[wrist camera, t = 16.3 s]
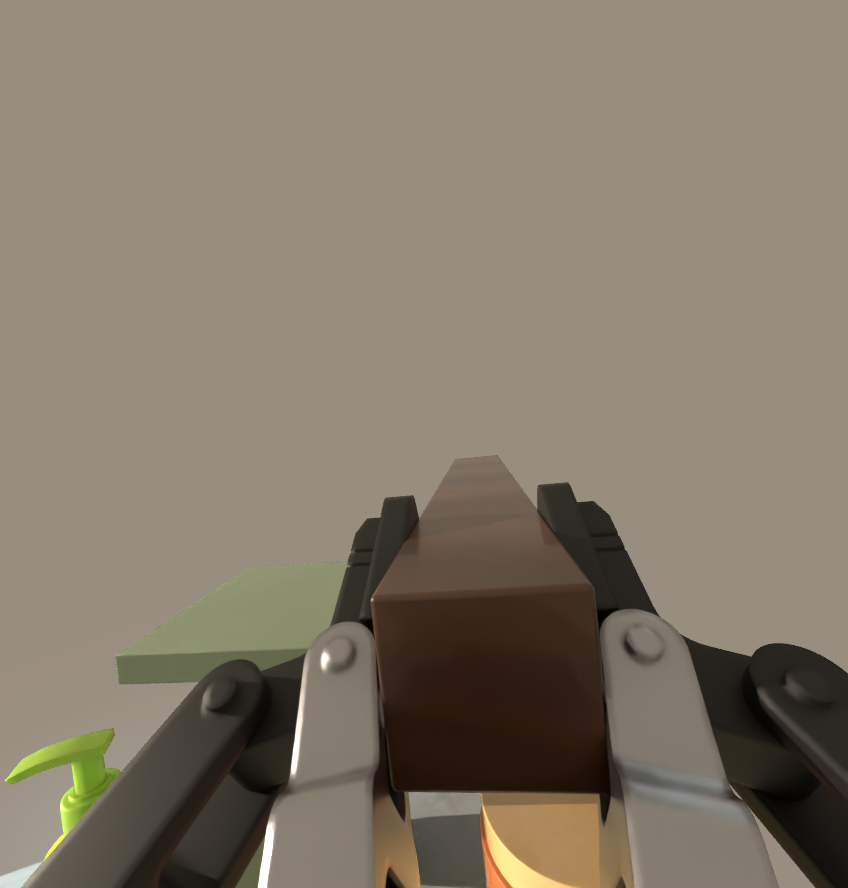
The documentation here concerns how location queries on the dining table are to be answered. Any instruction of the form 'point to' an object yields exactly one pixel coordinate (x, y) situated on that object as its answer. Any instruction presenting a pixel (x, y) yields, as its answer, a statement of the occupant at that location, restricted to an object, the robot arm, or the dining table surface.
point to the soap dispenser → (85, 769)
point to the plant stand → (239, 633)
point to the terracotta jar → (540, 840)
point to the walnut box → (489, 648)
